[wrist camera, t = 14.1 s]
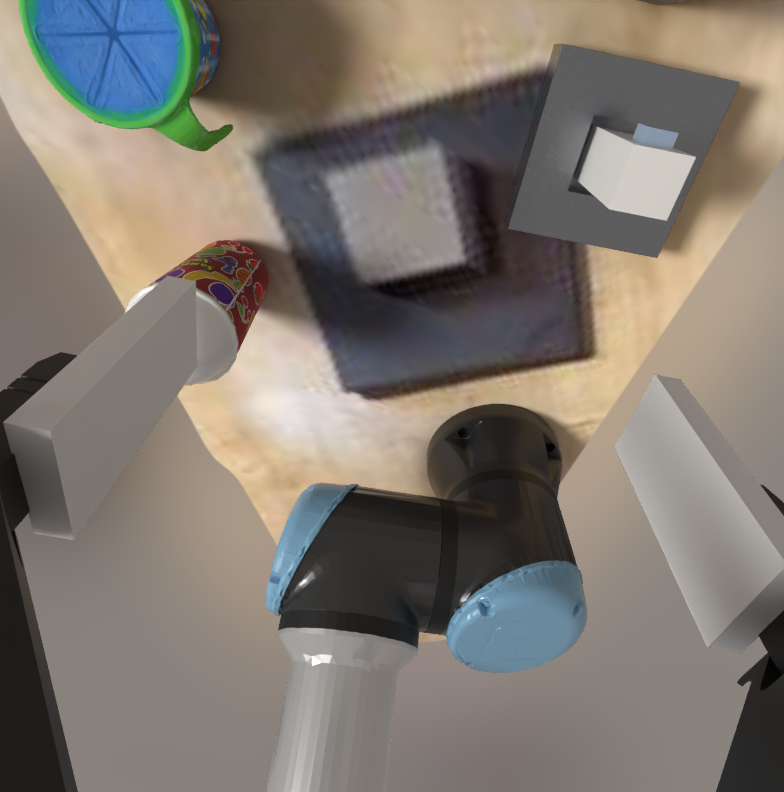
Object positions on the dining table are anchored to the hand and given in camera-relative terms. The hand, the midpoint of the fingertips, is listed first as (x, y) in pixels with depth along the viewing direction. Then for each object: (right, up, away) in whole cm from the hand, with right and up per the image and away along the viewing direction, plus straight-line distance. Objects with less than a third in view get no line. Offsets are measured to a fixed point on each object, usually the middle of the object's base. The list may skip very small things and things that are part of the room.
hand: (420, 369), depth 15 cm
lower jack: (+17, +19, +28) cm, 38 cm away
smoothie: (-16, +11, +35) cm, 40 cm away
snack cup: (-17, +27, +25) cm, 41 cm away
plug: (+17, +18, +27) cm, 37 cm away
